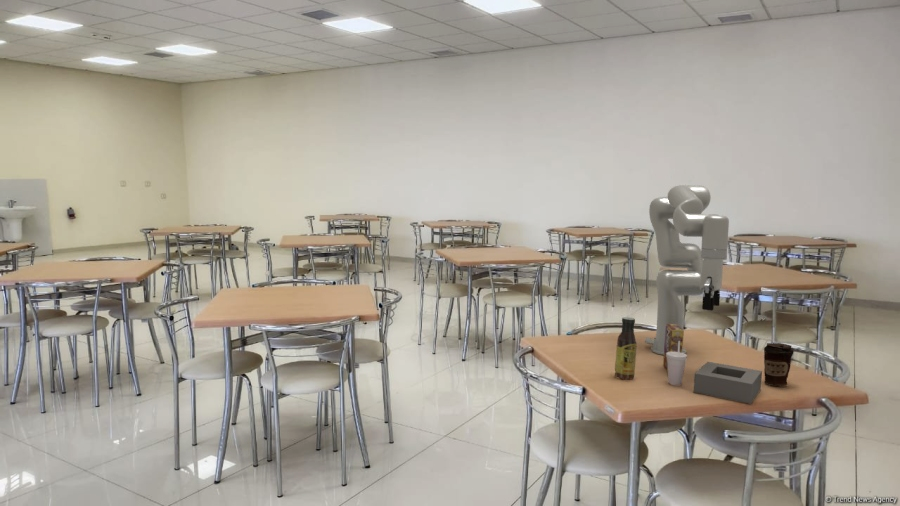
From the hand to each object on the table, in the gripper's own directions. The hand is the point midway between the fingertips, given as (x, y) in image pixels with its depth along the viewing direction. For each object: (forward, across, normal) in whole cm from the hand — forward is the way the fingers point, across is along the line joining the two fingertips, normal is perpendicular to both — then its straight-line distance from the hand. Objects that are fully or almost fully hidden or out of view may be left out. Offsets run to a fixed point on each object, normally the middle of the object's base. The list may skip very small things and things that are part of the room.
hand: (710, 307), depth 191 cm
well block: (+25, +5, +7) cm, 26 cm away
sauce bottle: (+25, +11, -23) cm, 36 cm away
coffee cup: (+25, -11, +19) cm, 33 cm away
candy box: (+25, -7, -12) cm, 28 cm away
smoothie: (+25, +8, -8) cm, 27 cm away
